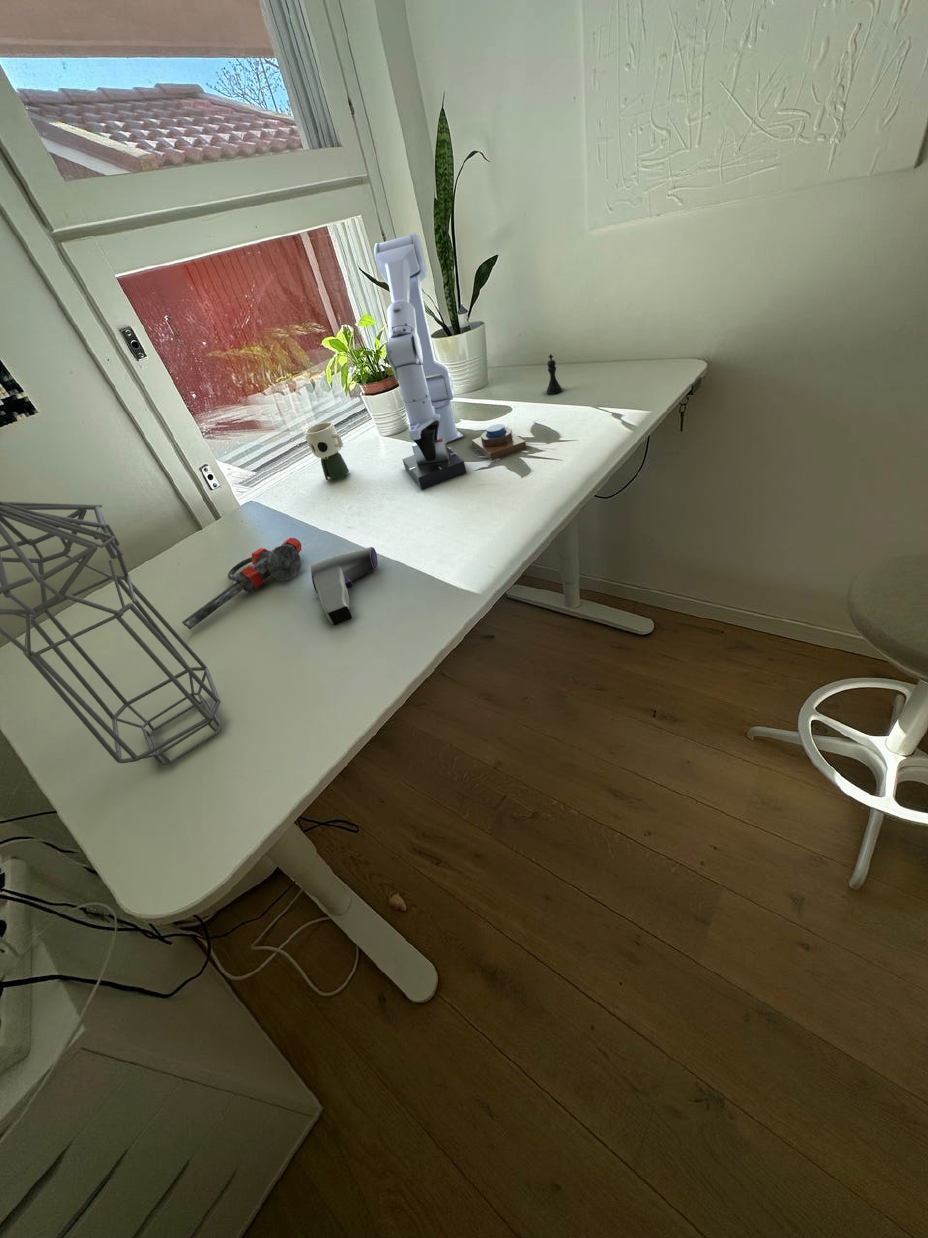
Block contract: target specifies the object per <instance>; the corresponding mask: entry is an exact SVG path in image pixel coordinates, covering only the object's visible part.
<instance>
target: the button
mask: <svg viewBox="0 0 928 1238" xmlns="http://www.w3.org/2000/svg"><path fill="white" fill-rule="evenodd" d="M505 427H506V426H505V424H503V423H495V424H492V425H489V426H488V427H487V428H485V429H486V430H485V432H487V437H489V438H494V437H499V436H502V435H504V434H505V433H506V432H505Z"/></svg>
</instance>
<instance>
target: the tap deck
mask: <svg viewBox="0 0 928 1238" xmlns="http://www.w3.org/2000/svg"><path fill="white" fill-rule="evenodd" d="M447 450H448V455H449V459H448V461H441V462H433V463H425V464H418V465H417V462H416V459H415V455H414V454H413V455H410V456H407V457H404V458H402V463H403V466H404V467H403V468H404V470H405V472H406V473H407V475H409V476H410V478H411V480H412V481H414V483H415V484H416V485H417V486H418V487H419V489H420V490H421V491H424V490H426V489H430V488H432V487H434V486H437V485H440V484H442V483H445V482H448V481H451V480H453V479H457V478H459V477H462V476H464V475H467V474H468V473H467V469H466V465H465V461H464V460H463V459H462V458H461V457H460V456H459V455H457V451H456V452H454V451H453V450H452V449H450V448H449V446H447Z"/></svg>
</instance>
